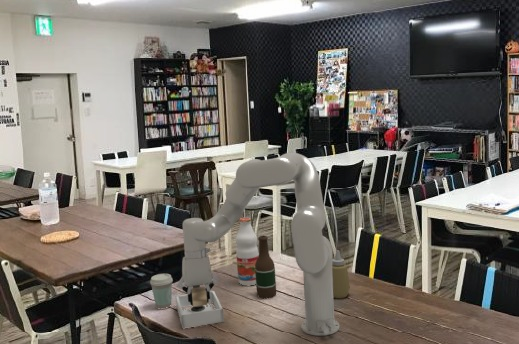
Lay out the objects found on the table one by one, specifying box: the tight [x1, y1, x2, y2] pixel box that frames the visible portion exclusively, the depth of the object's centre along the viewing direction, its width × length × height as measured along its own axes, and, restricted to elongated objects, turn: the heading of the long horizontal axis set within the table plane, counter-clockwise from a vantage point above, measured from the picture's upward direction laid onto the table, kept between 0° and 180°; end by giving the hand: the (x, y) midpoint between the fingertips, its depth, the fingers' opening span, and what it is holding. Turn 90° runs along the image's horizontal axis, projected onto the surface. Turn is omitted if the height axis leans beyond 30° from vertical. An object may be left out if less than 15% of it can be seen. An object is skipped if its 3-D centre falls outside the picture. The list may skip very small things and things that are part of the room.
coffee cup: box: [149, 273, 174, 309], centre depth 205 cm, size 8×8×12 cm
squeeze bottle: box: [332, 249, 351, 299], centre depth 204 cm, size 8×8×18 cm
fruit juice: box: [235, 216, 259, 286], centre depth 225 cm, size 9×9×28 cm
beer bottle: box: [255, 235, 277, 300], centre depth 209 cm, size 8×8×24 cm
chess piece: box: [191, 285, 205, 312], centre depth 199 cm, size 6×6×12 cm
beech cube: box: [191, 286, 207, 307], centre depth 190 cm, size 5×5×5 cm
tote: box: [175, 289, 225, 328], centre depth 195 cm, size 20×15×5 cm
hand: (199, 301), depth 190 cm, fingers closed on beech cube, 5 cm apart
